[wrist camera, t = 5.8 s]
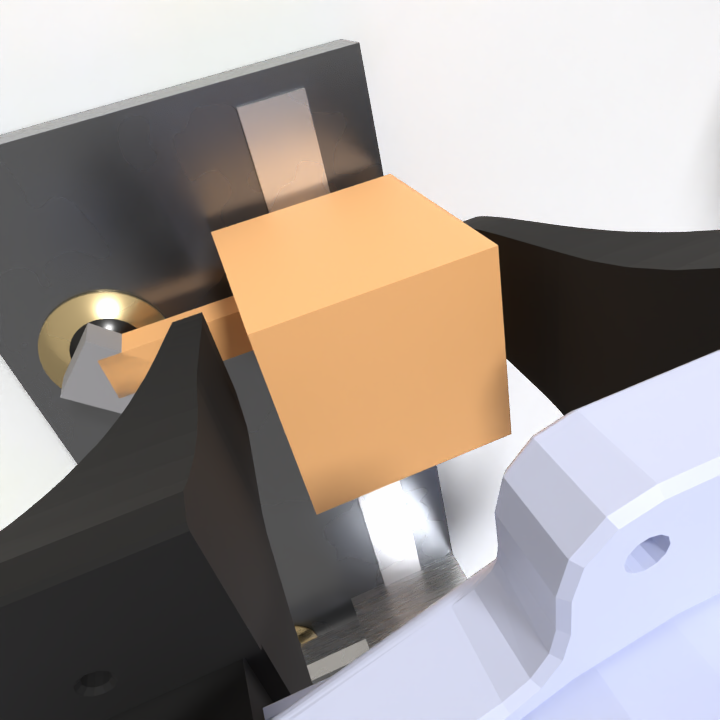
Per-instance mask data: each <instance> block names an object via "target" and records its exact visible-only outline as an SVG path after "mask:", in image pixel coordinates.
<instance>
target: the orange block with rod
mask: <svg viewBox="0 0 720 720" xmlns="http://www.w3.org/2000/svg"><path fill="white" fill-rule="evenodd" d="M211 234H212V236H213V239H214V242H215V245H216V248H217V250H218V253H219V256H220V259H221V262H222V264H223V267H224V270H225V273H226V276H227V279H228V281H229V284H230V287H231V290H232V293H233V295H234V296H231V297H228V298H225V299H222V300H219V301H216V302H213V303H210V304H207V305H205V306H202V307H199V308H196V309H193V310H190V311H187V312H184V313H181V314H178V315H176V316H173V317H170V318H167V319H164V320H161V321H158V322H155V323H152V324H149V325H147V326H144V327H141V328H138V329H135V330H132V331H129V332H126V333H123V334H120V333H117V332H114V331H111V330H108V329H105V328H102V327H99V326H96V325H93V324H90V323H88V324H87V326H86V328H85V330H84V333H83V335H82V337H81V339H80V342H79V344H78V346H77V348H76V350H75V353H74V355H73V357H72V359H71V362H70V364H69V366H68V368H67V370H66V373H65V375H64V378H63V384H62V389H61V395H60V398H64V399H68V400H72V401H75V402H79V403H83V404H87V405H91V406H94V407H98V408H102V409H106V410H110V411H113V412H117V413H121V414H122V413H123V411H124V410H125V408H126V407H127V405H128V404H129V403H130V401H131V399H132V398H133V396H134V394H135V393H136V391H137V389H138V388H139V386H140V385H141V383H142V381H143V380H144V378H145V376H146V375H147V373H148V371H149V369H150V367H151V365H152V363H153V361H154V359H155V357H156V355H157V353H158V351H159V349H160V347H161V345H162V342H163V340H164V338H165V336H166V334H167V332H168V330H169V328H170V326H171V324H172V322H175V321H178V320H180V319H183V318H186V317H189V316H192V315H195V314H198V313H201V312H202V313H203V316H204V318H205V320H206V323H207V325H208V327H209V330H210V332H211V334H212V337H213V339H214V341H215V344H216V346H217V348H218V351H219V353H220V355H221V358H222V360H223V361H225V360H227V359H230V358H233V357H236V356H238V355H241V354H244V353H247V352H249V351H252V350H254V353H255V356H256V358H257V361H258V363H259V366H260V369H261V371H262V374H263V376H264V379H265V382H266V384H267V387H268V389H269V392H270V395H271V397H272V400H273V402H274V405H275V408H276V410H277V413H278V415H279V418H280V421H281V423H282V426H283V428H284V431H285V434H286V436H287V439H288V441H289V444H290V447H291V449H292V452H293V454H294V457H295V460H296V462H297V465H298V467H299V470H300V473H301V475H302V478H303V480H304V483H305V486H306V488H307V491H308V493H309V496H310V499H311V501H312V504H313V507H314V509H315V512H316V514H320V513H322V512H325V511H327V510H329V509H332V508H334V507H337V506H339V505H341V504H344V503H346V502H349V501H351V500H353V499H356V498H358V497H361V496H363V495H365V494H368V493H370V492H373V491H375V490H377V489H380V488H382V487H385V486H387V485H389V484H392V483H394V482H397V481H399V480H402V479H404V478H406V477H409V476H411V475H414V474H416V473H418V472H421V471H423V470H426V469H428V468H430V467H433V466H435V465H438V464H440V463H442V462H445V461H447V460H450V459H452V458H454V457H457V456H459V455H462V454H464V453H466V452H469V451H471V450H474V449H476V448H478V447H481V446H483V445H486V444H488V443H491V442H493V441H495V440H498V439H500V438H503V437H505V436H507V435H510V434H511V422H510V408H509V393H508V379H507V365H506V350H505V336H504V322H503V307H502V293H501V279H500V265H499V250H498V245H497V244H495V243H494V242H492V241H491V240H489V239H488V238H486V237H485V236H483V235H482V234H480V233H479V232H477V231H476V230H474V229H473V228H471V227H470V226H468V225H467V224H465V223H464V222H462V221H461V220H459V219H458V218H456V217H455V216H453V215H452V214H450V213H449V212H447V211H446V210H444V209H443V208H441V207H440V206H438V205H437V204H435V203H434V202H432V201H431V200H429V199H428V198H426V197H425V196H423V195H422V194H420V193H419V192H417V191H416V190H414V189H412V188H411V187H409V186H408V185H406V184H405V183H403V182H402V181H400V180H399V179H397V178H396V177H394V176H393V175H391V174H388V175H385V176H382V177H379V178H376V179H373V180H370V181H367V182H364V183H361V184H358V185H354V186H351V187H348V188H345V189H342V190H339V191H336V192H333V193H330V194H327V195H324V196H321V197H318V198H314V199H311V200H308V201H305V202H302V203H299V204H296V205H293V206H290V207H287V208H284V209H281V210H278V211H274V212H271V213H268V214H265V215H262V216H259V217H256V218H253V219H250V220H247V221H244V222H241V223H237V224H234V225H231V226H228V227H225V228H222V229H219V230H216V231H213V232H211Z"/></svg>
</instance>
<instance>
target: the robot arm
mask: <svg viewBox="0 0 720 720" xmlns="http://www.w3.org/2000/svg"><path fill="white" fill-rule="evenodd" d="M463 222H464V223H465V224H467V225H468V226H470V227H471V228H473V229H474V230H476V231H477V232H479V233H480V234H482V235H483V236H485V237H486V238H488V239H489V240H491V241H492V242H494V243H495V244H497V245H498V250H499V265H500V279H501V293H502V307H503V322H504V336H505V350H506V359H507V360H509V361H510V362H511V363H512V364H513V365H514V366H515V367H516V368H517V369H518V370H519V371H520V372H521V373H522V374H523V375H524V376H525V377H526V378H528V379H529V380H530V381H531V382H532V383H533V384H534V385H535V386H536V387H537V388H538V389H539V390H540V391H541V392H542V393H543V394H544V395H545V396H546V397H547V398H548V399H549V400H550V401H551V402H552V403H553V404H554V405H555V406H556V407H557V408H558V409H559V410H560V411H561V413H562V414H563V415H564V416H563V417H561V418H560V419H558V420H557V421H555V422H554V423H552V424H551V425H549V426H547V427H546V428H544V429H543V430H541V431H540V432H538V433H537V434H535V435H533V436H532V437H531V439H530V440H529V441H528V442H527V444H526V445H525V446H524V447H523V449H522V450H521V451H520V453H519V454H518V455H517V456H516V458H515V459H514V460H513V461H512V463H511V464H510V465H509V467H508V468H507V469H506V471H505V473H504V475H503V479H502V483H501V488H500V492H499V496H498V501H497V505H496V509H495V520H496V529H497V539H498V552H497V557H496V559H495V560H494V561H492V562H491V563H489V564H488V565H486V566H485V567H484V568H482V569H481V570H479V571H478V572H477V573H475V574H474V575H472V576H471V577H470V578H468V579H467V580H465V581H464V582H463V583H461V584H460V585H458V586H457V587H456V588H454V589H453V590H451V591H450V592H449V593H447V594H446V595H444V596H443V597H442V598H440V599H439V600H437V601H436V602H435V603H433V604H432V605H430V606H429V607H428V608H426V609H425V610H423V611H422V612H421V613H419V614H418V615H416V616H415V617H414V618H412V619H411V620H409V621H408V622H407V623H405V624H404V625H402V626H401V627H400V628H398V629H397V630H395V631H394V632H393V633H391V634H390V635H388V636H387V637H386V638H384V639H383V640H381V641H380V642H379V643H377V644H376V645H374V646H373V647H372V648H370V649H369V650H368V651H366V652H365V653H363V654H362V655H361V656H359V657H358V658H356V659H355V660H354V661H352V662H351V663H349V664H348V665H347V666H345V667H344V668H342V669H341V670H340V671H338V672H337V673H335V674H334V675H333V676H331V677H329V678H326V679H324V680H322V681H320V682H318V683H316V684H312V681H311V677H310V674H309V671H308V668H307V665H306V661H305V658H304V655H303V652H302V649H301V645H300V642H299V639H298V636H297V632H296V629H295V626H294V623H293V619H292V616H291V613H290V610H289V606H288V603H287V600H286V596H285V593H284V590H283V586H282V583H281V580H280V576H279V573H278V570H277V566H276V563H275V559H274V556H273V552H272V549H271V546H270V542H269V539H268V535H267V532H266V527H265V523H264V519H263V514H262V509H261V503H260V497H259V491H258V486H257V480H256V474H255V468H254V462H253V456H252V451H251V445H250V439H249V434H248V428H247V425H246V422H245V419H244V415H243V412H242V409H241V406H240V403H239V400H238V396H237V393H236V390H235V388H234V386H233V383H232V381H231V379H230V376H229V374H228V372H227V369H226V367H225V365H224V362H223V360H222V358H221V355H220V353H219V351H218V348H217V346H216V344H215V341H214V339H213V337H212V334H211V332H210V330H209V327H208V325H207V323H206V320H205V318H204V316H203V313H202V312H201V313H198V314H195V315H192V316H189V317H186V318H183V319H180V320H178V321H175V322H172V324H171V326H170V328H169V330H168V332H167V334H166V336H165V338H164V340H163V342H162V345H161V347H160V349H159V351H158V353H157V355H156V357H155V359H154V361H153V363H152V365H151V367H150V369H149V371H148V373H147V375H146V376H145V378H144V380H143V381H142V383H141V385H140V386H139V388H138V389H137V391H136V393H135V394H134V396H133V398H132V399H131V401H130V403H129V404H128V405H127V407H126V408H125V410H124V411H123V413H122V414H121V415H120V417H119V418H118V419H117V421H116V422H115V423H114V424H113V426H112V427H111V428H110V429H109V431H108V432H107V433H106V434H105V436H104V437H103V438H102V439H101V440H100V441H99V443H98V444H97V445H96V446H95V447H94V448H93V449H92V450H91V451H90V452H89V453H88V454H87V455H86V456H85V457H84V458H83V459H82V460H81V461H80V463H79V464H78V465H77V466H76V467H75V468H74V469H73V470H72V471H71V472H70V473H69V474H68V475H67V476H66V477H65V478H64V479H63V480H62V481H61V482H59V483H58V484H57V485H56V486H55V487H54V488H53V489H52V490H51V491H49V492H48V493H47V494H46V495H45V496H44V497H43V498H41V499H40V500H39V501H38V502H37V503H35V504H34V505H33V506H32V507H31V508H29V509H28V510H27V511H26V512H25V513H24V514H22V515H21V516H20V517H18V518H17V519H16V520H15V521H13V522H12V523H11V524H10V525H8V526H7V527H5V528H4V529H3V530H1V531H0V720H720V230H711V231H692V232H624V231H608V230H597V229H586V228H577V227H568V226H560V225H553V224H546V223H539V222H532V221H524V220H517V219H510V218H501V217H488V216H480V217H475V218H472V219H469V220H466V221H463Z"/></svg>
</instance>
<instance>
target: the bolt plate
mask: <svg viewBox="0 0 720 720" xmlns="http://www.w3.org/2000/svg"><path fill="white" fill-rule="evenodd" d="M382 176H383V170H382V165H381V159H380V154H379V148H378V143H377V137H376V132H375V126H374V121H373V115H372V110H371V104H370V99H369V94H368V88H367V83H366V77H365V72H364V66H363V61H362V55H361V50H360V44H359V42H354V41H348V40H343V39H340V40H336V41H333V42H329V43H326V44H322V45H319V46H315V47H311V48H308V49H304V50H301V51H297V52H294V53H290V54H287V55H283V56H279V57H276V58H272V59H269V60H265V61H262V62H258V63H255V64H251V65H247V66H244V67H240V68H237V69H233V70H230V71H226V72H223V73H219V74H216V75H212V76H208V77H205V78H201V79H198V80H194V81H191V82H187V83H184V84H180V85H176V86H173V87H169V88H166V89H162V90H159V91H155V92H152V93H148V94H144V95H141V96H137V97H134V98H130V99H127V100H123V101H120V102H116V103H112V104H109V105H105V106H102V107H98V108H95V109H91V110H88V111H84V112H80V113H77V114H73V115H70V116H66V117H63V118H59V119H56V120H52V121H48V122H45V123H41V124H38V125H34V126H31V127H27V128H24V129H20V130H17V131H13V132H9V133H6V134H2V135H0V354H1V356H2V357H3V359H4V360H5V362H6V363H7V364H8V366H9V367H10V369H11V370H12V371H13V373H14V374H15V376H16V377H17V379H18V380H19V381H20V383H21V384H22V386H23V387H24V389H25V390H26V391H27V393H28V394H29V396H30V397H31V398H32V400H33V401H34V403H35V404H36V406H37V407H38V408H39V410H40V411H41V413H42V414H43V416H44V417H45V418H46V420H47V421H48V423H49V424H50V425H51V427H52V428H53V430H54V431H55V433H56V434H57V435H58V437H59V438H60V440H61V441H62V443H63V444H64V445H65V447H66V448H67V450H68V451H69V452H70V454H71V455H72V457H73V458H74V460H75V461H76V462H77V464H79V463H80V461H81V460H82V459H83V458H84V457H85V456H86V455H87V454H88V453H89V452H90V451H91V450H92V449H93V448H94V447H95V446H96V445H97V444H98V443H99V441H100V440H101V439H102V438H103V437H104V436H105V434H106V433H107V432H108V431H109V429H110V428H111V427H112V426H113V424H114V423H115V422H116V421H117V419H118V418H119V417H120V415H121V413H117V412H113V411H110V410H106V409H102V408H98V407H94V406H91V405H87V404H83V403H79V402H75V401H72V400H68V399H64V398H60V395H61V389H62V384H63V378H64V375H65V373H66V370H67V368H68V366H69V364H70V362H71V359H72V357H73V355H74V353H75V350H76V348H77V346H78V344H79V342H80V339H81V337H82V335H83V333H84V330H85V328H86V326H87V324H88V323H90V324H93V325H96V326H99V327H102V328H105V329H108V330H111V331H114V332H117V333H120V334H123V333H126V332H129V331H132V330H135V329H138V328H141V327H144V326H147V325H149V324H152V323H155V322H158V321H161V320H164V319H167V318H170V317H173V316H176V315H178V314H181V313H184V312H187V311H190V310H193V309H196V308H199V307H202V306H205V305H207V304H210V303H213V302H216V301H219V300H222V299H225V298H228V297H231V296H234V295H233V293H232V290H231V287H230V284H229V281H228V279H227V276H226V273H225V270H224V267H223V264H222V262H221V259H220V256H219V253H218V250H217V248H216V245H215V242H214V239H213V236H212V234H211V232H213V231H216V230H219V229H222V228H225V227H228V226H231V225H234V224H237V223H241V222H244V221H247V220H250V219H253V218H256V217H259V216H262V215H265V214H268V213H271V212H274V211H278V210H281V209H284V208H287V207H290V206H293V205H296V204H299V203H302V202H305V201H308V200H311V199H314V198H318V197H321V196H324V195H327V194H330V193H333V192H336V191H339V190H342V189H345V188H348V187H351V186H354V185H358V184H361V183H364V182H367V181H370V180H373V179H376V178H379V177H382ZM223 362H224V365H225V367H226V369H227V372H228V374H229V376H230V379H231V381H232V383H233V386H234V388H235V390H236V393H237V396H238V400H239V403H240V406H241V409H242V412H243V415H244V419H245V422H246V425H247V428H248V434H249V439H250V445H251V451H252V456H253V462H254V468H255V474H256V480H257V486H258V491H259V497H260V503H261V509H262V514H263V519H264V523H265V527H266V532H267V535H268V539H269V542H270V546H271V549H272V552H273V556H274V559H275V563H276V566H277V570H278V573H279V576H280V580H281V583H282V586H283V590H284V593H285V596H286V600H287V603H288V606H289V610H290V613H291V616H292V619H293V623H294V626H295V629H296V632H297V636H298V639H299V642H300V645H301V649H302V652H303V655H304V658H305V661H306V665H307V668H308V671H309V674H310V677H311V681H312V684H316V683H318V682H320V681H322V680H324V679H326V678H329V677H331V676H333V675H334V674H335V673H337V672H338V671H340V670H341V669H342V668H344V667H345V666H347V665H348V664H349V663H351V662H352V661H354V660H355V659H356V658H358V657H359V656H361V655H362V654H363V653H365V652H366V651H368V650H369V649H370V648H372V647H373V646H374V645H376V644H377V643H379V642H380V641H381V640H383V639H384V638H386V637H387V636H388V635H390V634H391V633H393V632H394V631H395V630H397V629H398V628H400V627H401V626H402V625H404V624H405V623H407V622H408V621H409V620H411V619H412V618H414V617H415V616H416V615H418V614H419V613H421V612H422V611H423V610H425V609H426V608H428V607H429V606H430V605H432V604H433V603H435V602H436V601H437V600H439V599H440V598H442V597H443V596H444V595H446V594H447V593H449V592H450V591H451V590H453V589H454V588H456V587H457V586H458V585H460V584H461V583H463V582H464V581H465V580H467V577H466V576H465V574H464V572H463V571H462V569H461V567H460V566H459V564H458V562H457V560H456V559H455V557H454V555H453V554H452V549H451V543H450V538H449V532H448V527H447V521H446V516H445V510H444V505H443V499H442V494H441V488H440V483H439V477H438V472H437V466H436V465H435V466H433V467H430V468H428V469H426V470H423V471H421V472H418V473H416V474H414V475H411V476H409V477H406V478H404V479H402V480H399V481H397V482H394V483H392V484H389V485H387V486H385V487H382V488H380V489H377V490H375V491H373V492H370V493H368V494H365V495H363V496H361V497H358V498H356V499H353V500H351V501H349V502H346V503H344V504H341V505H339V506H337V507H334V508H332V509H329V510H327V511H325V512H322V513H320V514H316V512H315V509H314V507H313V504H312V501H311V499H310V496H309V493H308V491H307V488H306V486H305V483H304V480H303V478H302V475H301V473H300V470H299V467H298V465H297V462H296V460H295V457H294V454H293V452H292V449H291V447H290V444H289V441H288V439H287V436H286V434H285V431H284V428H283V426H282V423H281V421H280V418H279V415H278V413H277V410H276V408H275V405H274V402H273V400H272V397H271V395H270V392H269V389H268V387H267V384H266V382H265V379H264V376H263V374H262V371H261V369H260V366H259V363H258V361H257V358H256V356H255V353H254V350H252V351H249V352H247V353H244V354H241V355H238V356H236V357H233V358H230V359H227V360H225V361H223Z"/></svg>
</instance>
